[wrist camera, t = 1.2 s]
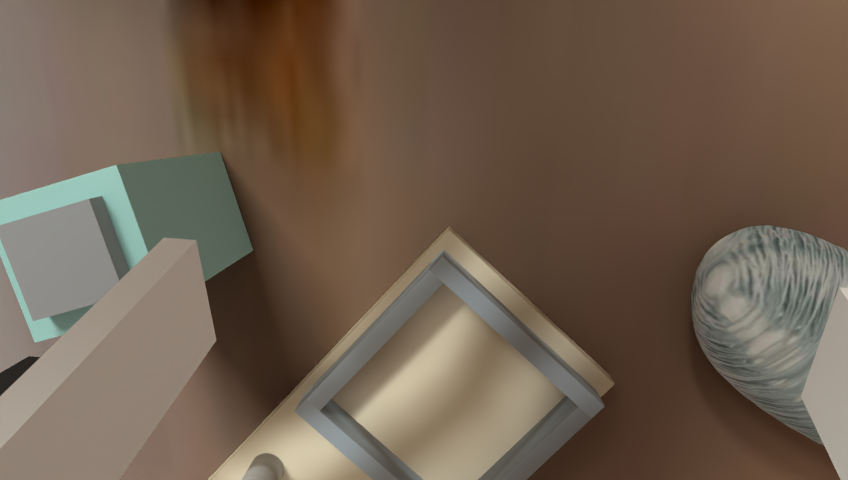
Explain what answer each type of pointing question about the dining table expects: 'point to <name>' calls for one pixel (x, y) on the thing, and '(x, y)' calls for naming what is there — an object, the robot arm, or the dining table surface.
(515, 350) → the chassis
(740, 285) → the spool
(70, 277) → the pale green upright block
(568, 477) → the dining table surface
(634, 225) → the dining table surface
